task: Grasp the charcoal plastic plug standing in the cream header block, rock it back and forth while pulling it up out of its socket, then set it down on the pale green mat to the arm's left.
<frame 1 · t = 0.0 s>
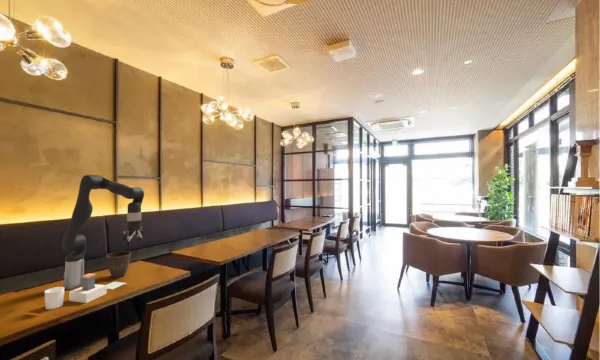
hand: (133, 245, 158), 29 cm above the table, fingers open, 8 cm apart
white cup: (54, 308, 138), on the table
plug: (88, 297, 149), point 1 cm above the table, touching header
plant pot: (118, 276, 184), on the table
header: (88, 298, 149), on the table
mat: (113, 286, 166), on the table
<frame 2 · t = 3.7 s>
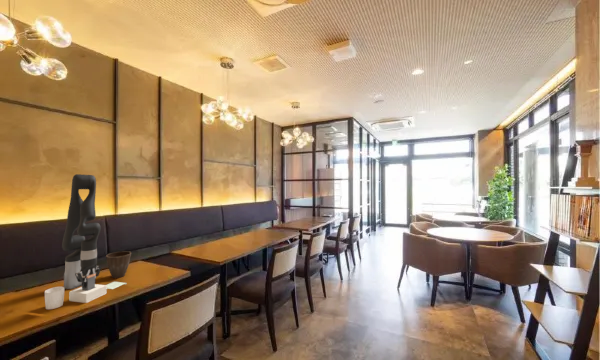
hand: (88, 286, 149), 7 cm above the table, fingers closed on plug, 4 cm apart
plug: (88, 297, 149), point 1 cm above the table, touching gripper, header
everything else where it was.
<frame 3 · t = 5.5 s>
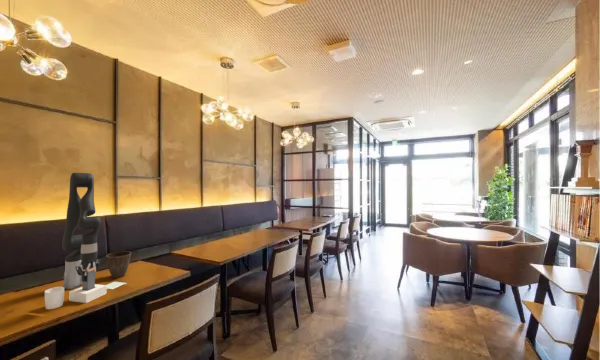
hand: (88, 280, 149), 11 cm above the table, fingers closed on plug, 4 cm apart
plug: (88, 290, 149), point 5 cm above the table, touching gripper
everything else where it was.
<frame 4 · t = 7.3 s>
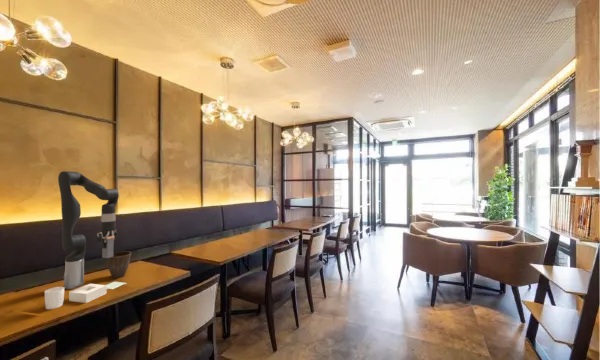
hand: (107, 247, 162), 27 cm above the table, fingers closed on plug, 4 cm apart
plug: (107, 257, 162), point 21 cm above the table, touching gripper
everything else where it was.
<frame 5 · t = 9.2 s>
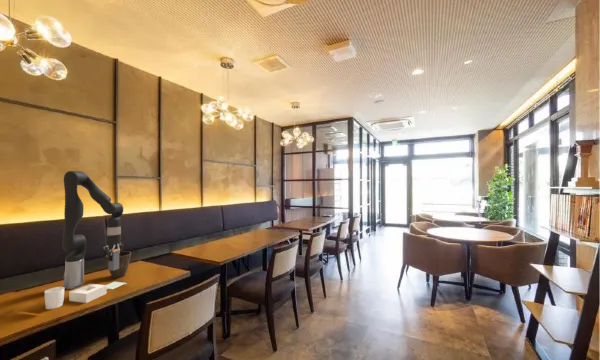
hand: (113, 259, 166), 18 cm above the table, fingers closed on plug, 4 cm apart
plug: (113, 269, 166), point 11 cm above the table, touching gripper
everything else where it was.
when the fingers open (8 cm above the table, at t = 11.1 s): plug stays where it is, resting on mat.
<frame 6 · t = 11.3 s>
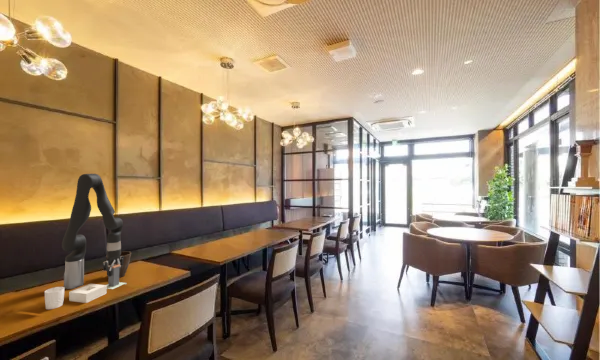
hand: (113, 274, 166), 8 cm above the table, fingers open, 5 cm apart
plug: (113, 285, 166), point 1 cm above the table, touching mat
everything else where it was.
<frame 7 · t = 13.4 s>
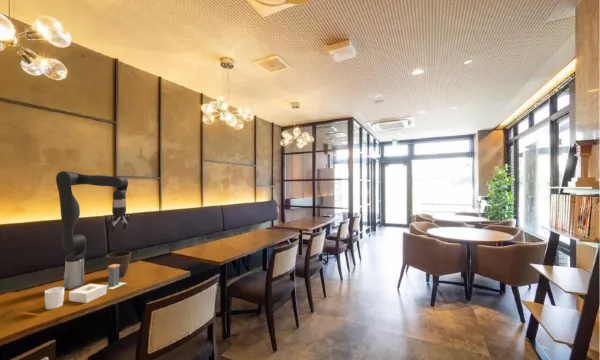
hand: (119, 230, 170), 36 cm above the table, fingers open, 8 cm apart
nothing on the table moved.
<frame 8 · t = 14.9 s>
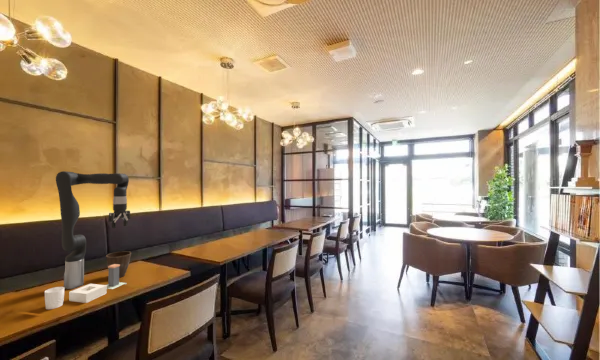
hand: (119, 227, 171), 38 cm above the table, fingers open, 8 cm apart
nothing on the table moved.
at the end: plug inside the target area on the mat (0.1 cm from its centre), point 1.0 cm above the mat's base; plug touching mat; the gripper is holding nothing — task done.
